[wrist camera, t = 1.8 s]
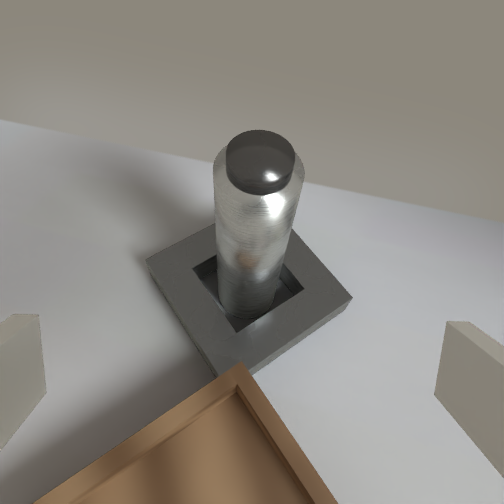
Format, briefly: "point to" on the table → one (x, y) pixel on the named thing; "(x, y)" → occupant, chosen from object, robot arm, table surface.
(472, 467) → the table surface
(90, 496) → the brown wooden tray
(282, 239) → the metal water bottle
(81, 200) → the table surface
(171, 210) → the table surface
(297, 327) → the socket
